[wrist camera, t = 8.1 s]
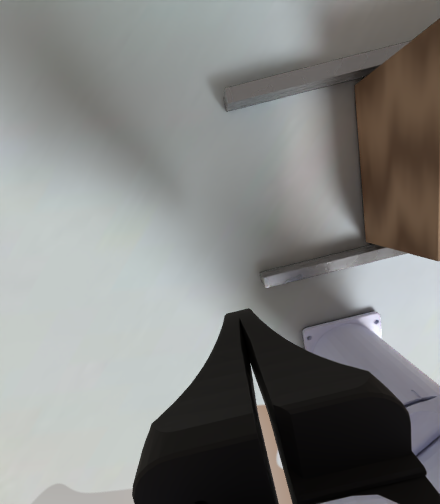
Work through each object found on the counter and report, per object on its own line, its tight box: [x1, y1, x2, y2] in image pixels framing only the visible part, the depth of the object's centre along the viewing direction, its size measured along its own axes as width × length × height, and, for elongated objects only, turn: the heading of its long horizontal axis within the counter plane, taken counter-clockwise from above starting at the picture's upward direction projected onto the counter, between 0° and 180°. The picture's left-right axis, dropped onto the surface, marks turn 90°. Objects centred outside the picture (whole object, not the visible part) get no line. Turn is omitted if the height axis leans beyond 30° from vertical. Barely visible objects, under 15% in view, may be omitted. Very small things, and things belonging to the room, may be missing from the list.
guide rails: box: [224, 41, 410, 288], centre depth 18 cm, size 16×21×2 cm
